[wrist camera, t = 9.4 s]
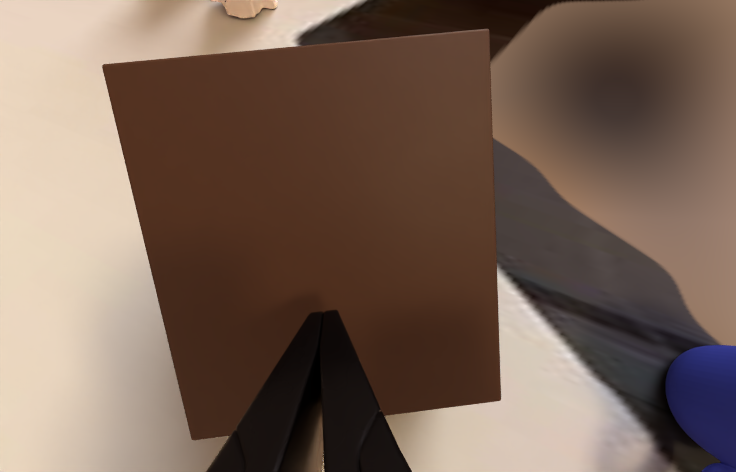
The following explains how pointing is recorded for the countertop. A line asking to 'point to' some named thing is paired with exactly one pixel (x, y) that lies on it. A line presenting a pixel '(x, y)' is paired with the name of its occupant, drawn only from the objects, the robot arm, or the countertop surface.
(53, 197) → the countertop surface
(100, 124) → the countertop surface
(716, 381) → the mug
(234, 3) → the shaker set
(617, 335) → the countertop surface
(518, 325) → the countertop surface
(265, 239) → the brown square block
